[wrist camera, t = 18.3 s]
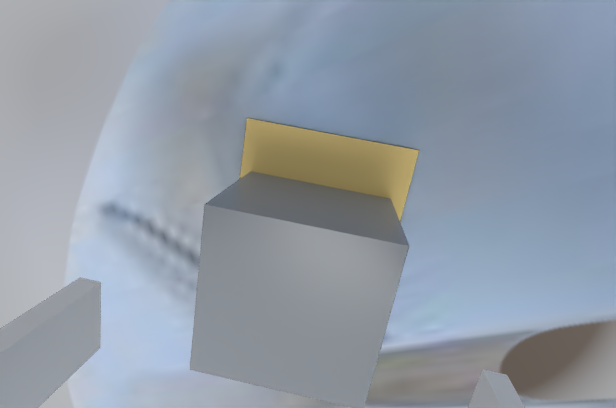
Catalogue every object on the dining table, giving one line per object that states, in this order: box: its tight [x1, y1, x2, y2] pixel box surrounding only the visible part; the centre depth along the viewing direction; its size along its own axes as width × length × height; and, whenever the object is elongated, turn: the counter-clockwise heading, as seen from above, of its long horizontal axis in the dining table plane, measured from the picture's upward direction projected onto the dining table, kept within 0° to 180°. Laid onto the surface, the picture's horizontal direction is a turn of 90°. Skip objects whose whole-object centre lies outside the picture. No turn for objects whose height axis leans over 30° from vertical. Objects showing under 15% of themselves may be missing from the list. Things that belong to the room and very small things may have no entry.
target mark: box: [240, 118, 419, 221], centre depth 27 cm, size 12×12×1 cm
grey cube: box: [190, 171, 409, 408], centre depth 23 cm, size 10×10×9 cm
